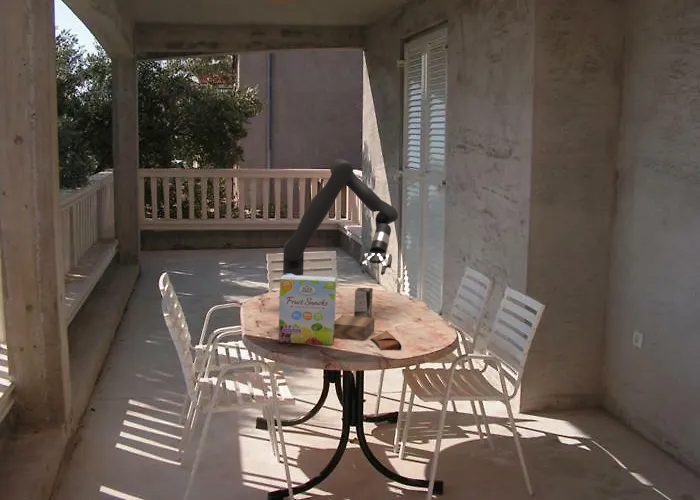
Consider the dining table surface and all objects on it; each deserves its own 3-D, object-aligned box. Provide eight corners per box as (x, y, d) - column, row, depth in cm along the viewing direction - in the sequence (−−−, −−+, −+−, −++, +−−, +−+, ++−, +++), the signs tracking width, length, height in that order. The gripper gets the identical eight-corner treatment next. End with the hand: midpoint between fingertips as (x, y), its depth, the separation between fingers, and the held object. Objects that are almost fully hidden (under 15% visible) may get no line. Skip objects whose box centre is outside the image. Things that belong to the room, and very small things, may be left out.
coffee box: (368, 329, 334) (369, 291, 332) (353, 328, 336) (354, 290, 333) (372, 324, 343) (373, 287, 341) (357, 323, 344) (358, 286, 342)
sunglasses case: (368, 338, 318) (376, 324, 318) (382, 346, 320) (390, 332, 320) (380, 350, 301) (389, 335, 301) (395, 359, 303) (404, 344, 303)
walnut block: (331, 338, 319) (331, 323, 318) (341, 329, 335) (342, 315, 334) (364, 341, 316) (365, 326, 315) (374, 332, 331) (374, 318, 330)
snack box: (277, 343, 307) (278, 278, 304) (280, 337, 316) (281, 274, 312) (333, 345, 306) (335, 280, 303) (334, 340, 315) (336, 276, 311)
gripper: (363, 238, 358) (355, 267, 349) (394, 240, 354) (387, 269, 345) (366, 248, 364) (358, 277, 354) (396, 250, 360) (389, 279, 350)
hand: (372, 273), depth 349 cm, fingers open, 8 cm apart
